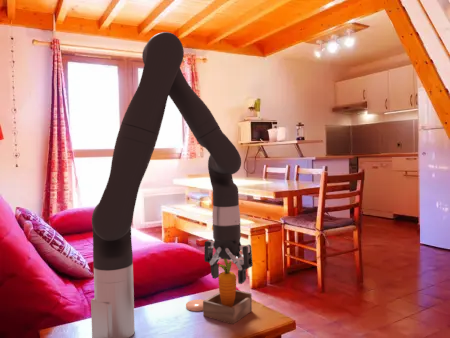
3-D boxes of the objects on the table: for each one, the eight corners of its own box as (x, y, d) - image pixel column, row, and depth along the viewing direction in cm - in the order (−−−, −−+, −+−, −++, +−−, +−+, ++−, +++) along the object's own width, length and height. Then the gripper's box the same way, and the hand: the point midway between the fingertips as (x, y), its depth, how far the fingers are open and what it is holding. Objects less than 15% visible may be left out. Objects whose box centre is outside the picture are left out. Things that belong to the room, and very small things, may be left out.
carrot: (235, 317, 101) (234, 262, 100) (217, 316, 102) (216, 261, 101) (238, 310, 106) (237, 257, 105) (220, 309, 107) (219, 256, 106)
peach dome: (200, 313, 104) (200, 311, 104) (180, 307, 108) (180, 305, 108) (214, 304, 110) (214, 302, 110) (196, 299, 114) (196, 297, 114)
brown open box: (233, 324, 97) (232, 305, 97) (203, 315, 102) (203, 297, 102) (251, 310, 105) (251, 293, 105) (223, 303, 110) (222, 286, 110)
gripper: (197, 222, 103) (199, 280, 104) (241, 226, 95) (243, 289, 96) (213, 217, 110) (215, 272, 110) (256, 221, 102) (257, 280, 102)
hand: (228, 280), depth 103 cm, fingers open, 8 cm apart
